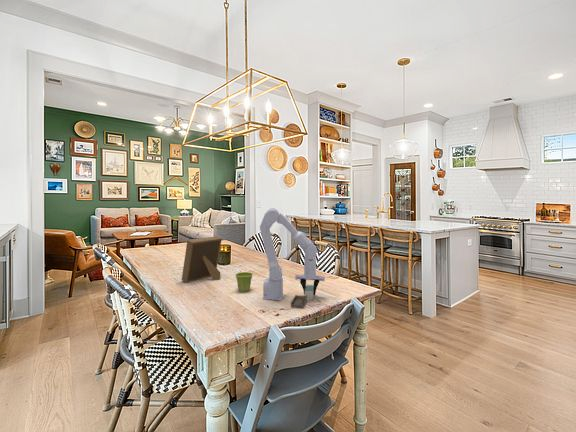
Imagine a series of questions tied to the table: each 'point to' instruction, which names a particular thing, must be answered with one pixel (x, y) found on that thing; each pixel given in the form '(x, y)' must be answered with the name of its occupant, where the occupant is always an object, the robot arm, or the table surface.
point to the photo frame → (201, 259)
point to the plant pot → (244, 281)
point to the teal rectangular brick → (309, 292)
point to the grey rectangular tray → (298, 301)
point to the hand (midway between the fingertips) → (309, 294)
